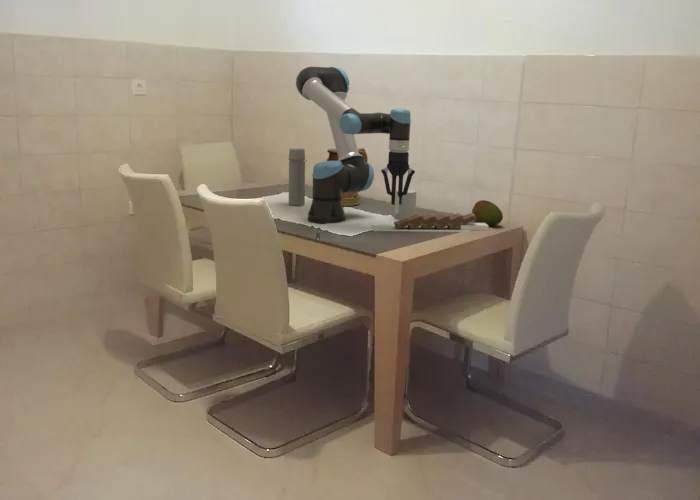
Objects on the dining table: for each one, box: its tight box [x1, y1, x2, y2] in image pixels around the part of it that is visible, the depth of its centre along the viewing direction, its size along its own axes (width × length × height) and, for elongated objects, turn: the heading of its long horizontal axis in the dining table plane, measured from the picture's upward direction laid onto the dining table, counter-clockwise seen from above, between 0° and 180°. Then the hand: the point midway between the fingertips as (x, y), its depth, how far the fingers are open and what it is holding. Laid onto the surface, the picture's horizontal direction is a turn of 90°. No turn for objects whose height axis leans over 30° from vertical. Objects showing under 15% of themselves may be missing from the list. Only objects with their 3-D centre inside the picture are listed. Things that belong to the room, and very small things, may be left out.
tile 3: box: [421, 212, 450, 229], centre depth 263 cm, size 2×5×11 cm
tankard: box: [326, 147, 369, 207], centre depth 310 cm, size 18×24×25 cm
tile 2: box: [408, 213, 437, 230], centre depth 263 cm, size 2×5×11 cm
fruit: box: [471, 199, 504, 227], centre depth 273 cm, size 12×13×10 cm
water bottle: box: [288, 147, 307, 207], centre depth 301 cm, size 9×8×25 cm
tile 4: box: [434, 212, 464, 230], centre depth 264 cm, size 2×5×11 cm
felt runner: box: [369, 224, 472, 233], centre depth 264 cm, size 38×11×1 cm, turn 96°
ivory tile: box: [458, 222, 490, 231], centre depth 265 cm, size 2×5×11 cm
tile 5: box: [447, 212, 476, 229], centre depth 264 cm, size 2×5×11 cm
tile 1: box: [393, 212, 424, 229], centre depth 262 cm, size 2×5×11 cm
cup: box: [394, 188, 418, 221], centre depth 279 cm, size 8×8×12 cm
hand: (395, 212), depth 261 cm, fingers closed
